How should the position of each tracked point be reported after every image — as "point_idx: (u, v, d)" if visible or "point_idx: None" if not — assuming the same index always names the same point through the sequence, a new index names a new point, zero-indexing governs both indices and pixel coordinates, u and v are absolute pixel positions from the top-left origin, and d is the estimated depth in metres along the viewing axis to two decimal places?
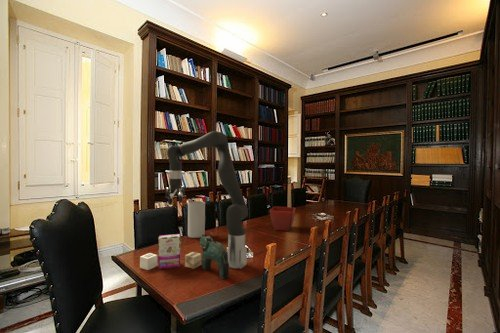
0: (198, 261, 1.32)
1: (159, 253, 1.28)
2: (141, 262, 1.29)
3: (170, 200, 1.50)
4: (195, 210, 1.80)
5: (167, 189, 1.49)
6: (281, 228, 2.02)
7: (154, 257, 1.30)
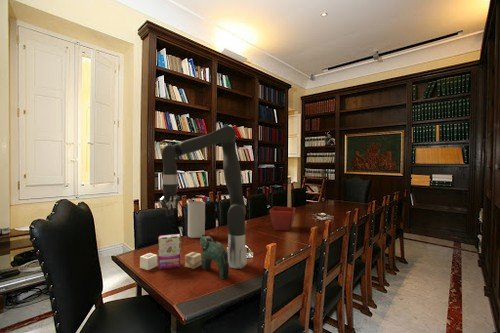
0: (198, 261, 1.32)
1: (159, 253, 1.28)
2: (141, 262, 1.29)
3: (168, 211, 1.29)
4: (195, 210, 1.80)
5: (161, 201, 1.25)
6: (281, 228, 2.02)
7: (154, 257, 1.30)
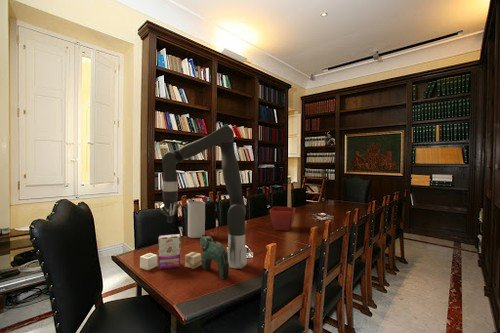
0: (198, 261, 1.32)
1: (159, 253, 1.28)
2: (141, 262, 1.29)
3: (169, 217, 1.30)
4: (195, 210, 1.80)
5: (161, 208, 1.26)
6: (281, 228, 2.02)
7: (154, 257, 1.30)
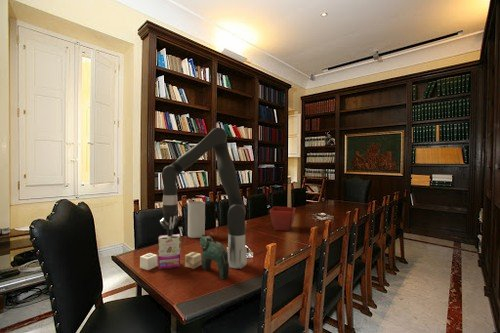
0: (198, 261, 1.32)
1: (159, 253, 1.28)
2: (141, 262, 1.29)
3: (169, 231, 1.30)
4: (195, 210, 1.80)
5: (161, 222, 1.26)
6: (281, 228, 2.02)
7: (154, 257, 1.30)
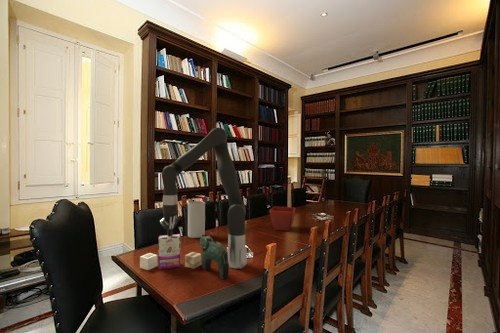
0: (198, 261, 1.32)
1: (159, 253, 1.28)
2: (141, 262, 1.29)
3: (169, 231, 1.30)
4: (195, 210, 1.80)
5: (161, 222, 1.26)
6: (281, 228, 2.02)
7: (154, 257, 1.30)
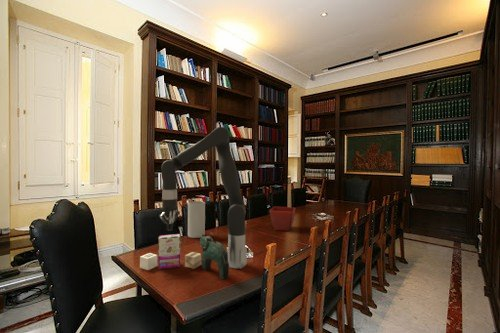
0: (198, 261, 1.32)
1: (159, 253, 1.28)
2: (141, 262, 1.29)
3: (169, 226, 1.30)
4: (195, 210, 1.80)
5: (161, 217, 1.26)
6: (281, 228, 2.02)
7: (154, 257, 1.30)
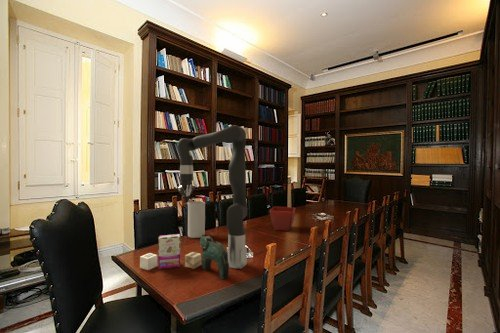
0: (198, 261, 1.32)
1: (159, 253, 1.28)
2: (141, 262, 1.29)
3: (186, 198, 1.44)
4: (195, 210, 1.80)
5: (179, 189, 1.39)
6: (281, 228, 2.02)
7: (154, 257, 1.30)
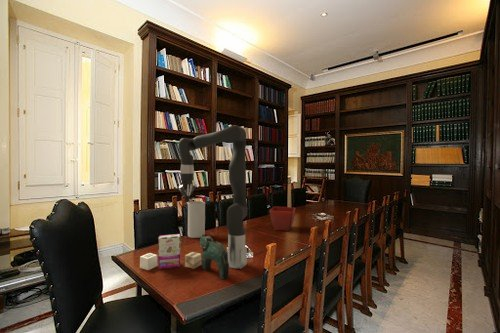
0: (198, 261, 1.32)
1: (159, 253, 1.28)
2: (141, 262, 1.29)
3: (186, 197, 1.44)
4: (195, 210, 1.80)
5: (180, 189, 1.40)
6: (281, 228, 2.02)
7: (154, 257, 1.30)
